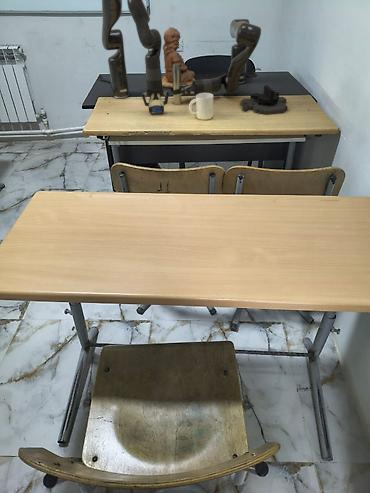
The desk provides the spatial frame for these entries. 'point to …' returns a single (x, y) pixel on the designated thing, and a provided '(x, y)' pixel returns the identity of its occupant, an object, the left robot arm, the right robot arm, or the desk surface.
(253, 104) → the abstract sculpture
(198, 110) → the mug
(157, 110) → the lid
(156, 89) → the left robot arm
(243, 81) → the right robot arm
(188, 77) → the sculpture
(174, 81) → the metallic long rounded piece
